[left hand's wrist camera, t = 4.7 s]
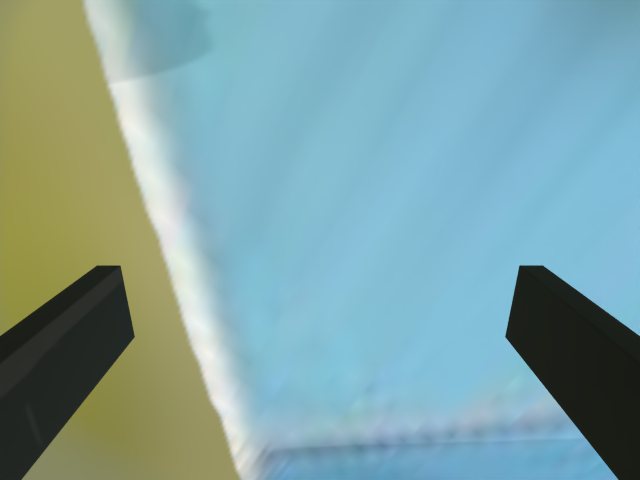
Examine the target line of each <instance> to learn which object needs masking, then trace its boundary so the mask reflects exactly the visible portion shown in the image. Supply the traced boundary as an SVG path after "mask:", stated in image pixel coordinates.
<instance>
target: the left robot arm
mask: <svg viewBox="0 0 640 480" xmlns="http://www.w3.org/2000/svg"><path fill="white" fill-rule="evenodd" d="M134 337H135V336H134V331H133V326H132V321H131V316H130V311H129V306H128V301H127V297H126V291H125V286H124V281H123V276H122V271H121V266H96V267H95V268H93V269H92V270H91V271H89V272H88V273H86V274H85V275H84V276H82V277H81V278H79V279H78V280H77V281H75V282H74V283H73V284H71V285H70V286H69V287H67V288H66V289H64V290H63V291H62V292H60V293H59V294H58V295H56V296H55V297H53V298H52V299H51V300H49V301H48V302H46V303H45V304H44V305H42V306H41V307H40V308H38V309H37V310H36V311H34V312H33V313H31V314H30V315H29V316H27V317H26V318H25V319H23V320H22V321H20V322H19V323H18V324H16V325H15V326H14V327H12V328H11V329H9V330H8V331H7V332H5V333H4V334H3V335H1V336H0V480H22V478H23V477H24V476H25V475H26V473H27V472H28V471H29V469H30V468H31V467H32V466H33V464H34V463H35V462H36V461H37V459H38V458H39V457H40V456H41V454H42V453H43V452H44V451H45V449H46V448H47V447H48V445H49V444H50V443H51V442H52V440H53V439H54V438H55V437H56V435H57V434H58V433H59V432H60V430H61V429H62V428H63V427H64V425H65V424H66V423H67V422H68V420H69V419H70V418H71V417H72V415H73V414H74V413H75V411H76V410H77V409H78V408H79V406H80V405H81V404H82V403H83V401H84V400H85V399H86V398H87V396H88V395H89V394H90V392H91V391H92V390H93V389H94V388H95V386H96V385H97V384H98V382H99V381H100V380H101V379H102V377H103V376H104V375H105V374H106V372H107V371H108V370H109V369H110V367H111V366H112V365H113V364H114V362H115V361H116V360H117V359H118V357H119V356H120V355H121V353H122V352H123V351H124V350H125V348H126V347H127V346H128V345H129V343H130V342H131V341H132V340H133V338H134ZM505 337H506V338H507V340H508V341H509V342H510V343H511V345H512V346H513V347H514V348H515V350H516V351H517V352H518V354H519V355H520V356H521V357H522V359H523V360H524V361H525V362H526V364H527V365H528V366H529V367H530V369H531V370H532V371H533V372H534V374H535V375H536V376H537V377H538V379H539V380H540V381H541V382H542V384H543V385H544V386H545V388H546V389H547V390H548V391H549V393H550V394H551V395H552V396H553V398H554V399H555V400H556V401H557V403H558V404H559V405H560V406H561V408H562V409H563V410H564V411H565V413H566V414H567V415H568V417H569V418H570V419H571V420H572V422H573V423H574V424H575V425H576V427H577V428H578V429H579V430H580V432H581V433H582V434H583V435H584V437H585V438H586V439H587V440H588V442H589V443H590V444H591V446H592V447H593V448H594V449H595V451H596V452H597V453H598V454H599V456H600V457H601V458H602V459H603V461H604V462H605V463H606V464H607V466H608V467H609V468H610V469H611V471H612V472H613V473H614V475H615V476H616V477H617V478H618V480H640V336H639V335H637V334H636V333H635V332H633V331H632V330H631V329H629V328H628V327H626V326H625V325H624V324H622V323H621V322H620V321H618V320H617V319H615V318H614V317H613V316H611V315H610V314H609V313H607V312H606V311H605V310H603V309H602V308H600V307H599V306H598V305H596V304H595V303H594V302H592V301H591V300H589V299H588V298H587V297H585V296H584V295H583V294H581V293H580V292H578V291H577V290H576V289H574V288H573V287H572V286H570V285H569V284H567V283H566V282H565V281H563V280H562V279H561V278H559V277H558V276H556V275H555V274H554V273H552V272H551V271H550V270H548V269H547V268H545V267H544V266H519V271H518V276H517V281H516V286H515V291H514V296H513V301H512V306H511V311H510V316H509V321H508V326H507V331H506V336H505Z"/></svg>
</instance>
